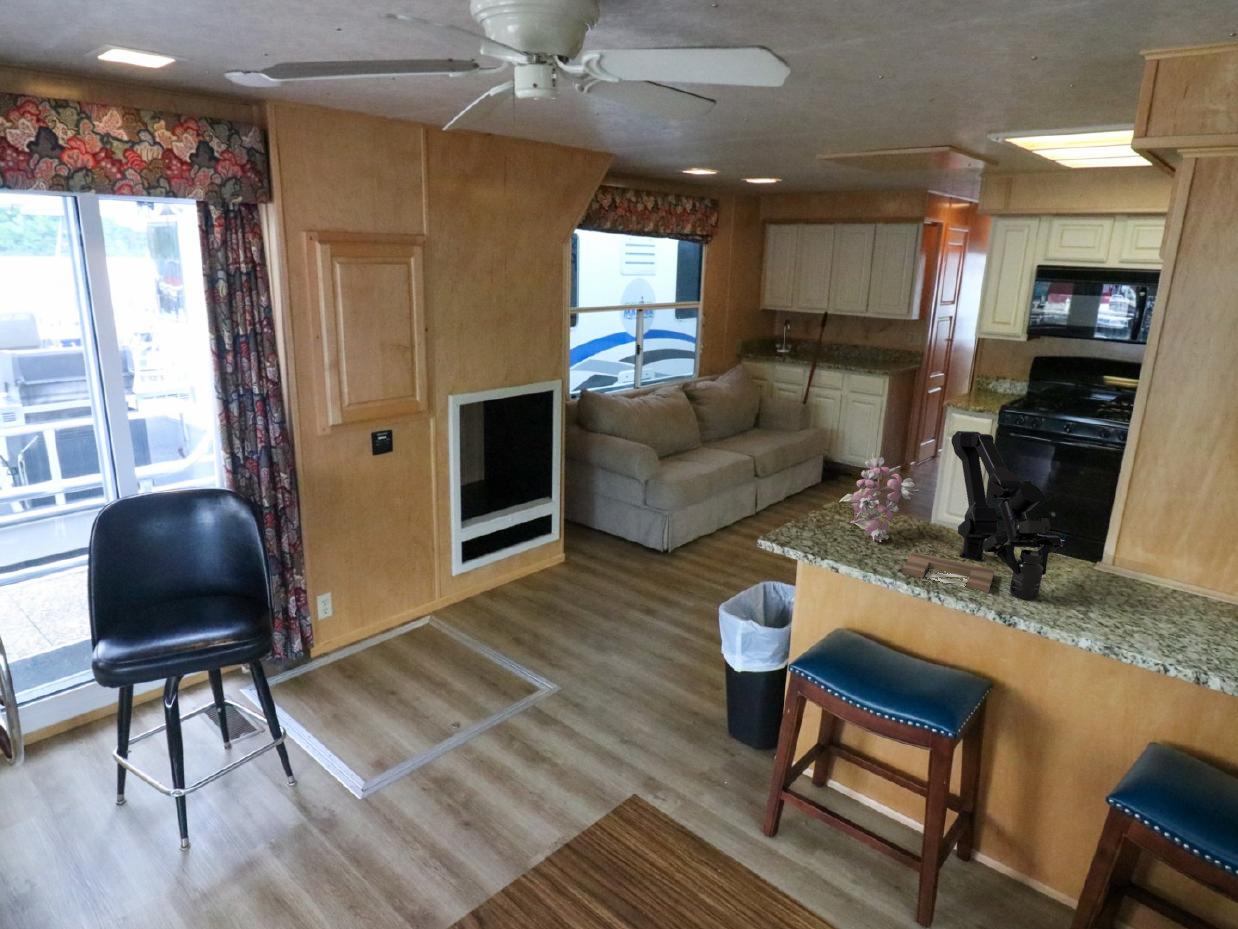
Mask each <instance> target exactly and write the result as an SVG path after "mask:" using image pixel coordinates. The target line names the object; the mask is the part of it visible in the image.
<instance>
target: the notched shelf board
mask: <svg viewBox="0 0 1238 929" xmlns="http://www.w3.org/2000/svg"><path fill="white" fill-rule="evenodd" d="M928 568H930V569H928ZM933 569H934V570H942V571H946V572H950V574H948V573H947V574H943V573H939V572H938V573H937V574H935V573H934V572H932V573H931V572H930V574H929V573H927V572H928V570H933ZM926 571H927V572H926ZM995 571H996V570H995V568H992V567H986V566H982V565H977V564H971V563H967V562H961V561H957V560H951V559H948V558H943V557H938V556H931V555H929V554H924V553H918V552H914V551H912V552H911V553H910V555H909V557H908V558H907V560H906V562H905V563H904V565H903V567H902V573H901V574H902V575H905V576H909V577H915V578H918V577H920V578H919V579H924V578H925V577H930V579H931V580H930V581H933V580H935V581H934V582H937V581H940V582H939V583H942V582H943V583H944V584H946V583H967V584H965V586H966V587H965V586H964V584H963V585H960V586H963V587H962V588H964V587H965V588H966V589H968V590H972V589H976V590H975V591H977V590H979V591H978V592H981V591H982V593H985V594H986V593H987V594H989V593H990V590H991V586H992V583H993V580H994V576H995ZM925 573H926V574H925ZM951 573H954V574H951ZM924 575H925V576H924ZM961 575H963V576H961ZM923 577H924V578H923ZM931 577H938V580H937V579H935V578H931ZM939 577H969V578H968V580H967V579H965V578H963V581H961V580H960V579H956V580H953V579H950V578H948V579H941V578H939ZM928 579H929V578H927V579H926V580H928ZM960 586H959V587H960Z"/></svg>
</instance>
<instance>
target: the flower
mask: <svg viewBox="0 0 1238 929" xmlns="http://www.w3.org/2000/svg"><path fill="white" fill-rule="evenodd" d="M871 455H872V458H867V460H866V461H865V466H866V468H869V469H868V470H862V472H861V473H860V475H861V477H863V479H859V480H857V481H856V486H857V488H860V489H859V490H857V491H855V492H853V494H852V493H847V494H845V496H843V497H842V498H841V499H840V500H839V502H838V503H841V502H851V506H852V508H853V510H854V511H853V513H854V514H853V520H851V521H850V524H855V525H856V526H857V527H858V528H860V529H861V530H865V532H866V533H868V535H870V536H871V537H872V540H873V542H875V540H876V542H878V543H882V540H884V538H885V539H886V540H888V539H889V537H890V536H889V535H888V534H887V533H888V530H889V529H888V528H889V522H888V521H887V520H889V521H894V520H895V515H894V513H897V512H899V510H901V508H900V507H899V506H898V504H897V503H898V502H900V498H901V496H902V497H903V499H906V500H911V499H912V498H911V497H910V496H909V495H911V496H915V493H914V491H919V490H920V489H919V488H917V489H916V488H915V486H916V484H915V483H914V482H913V481H914V479H912V478H910V477H909V478H905V479H902V477H901V475H900V474H898V473H893V474H891V477H892V478H891V479H889V480H887V482H886V483H887V484H886V485H887V486H884V487H881V488H880V480H881V479H880V473H881V474H882V476H884V477H887V476H888V475H889V476H890V468H889V467H888V466H883V464H884V463H885V458H884V457H883V456H881V457H880V456H876V457H874V452H872V454H871ZM876 479H877V481H875V480H876ZM865 486H866V487H865ZM864 487H865V488H864ZM886 489H891V490H893V492H891V493H888V494H887V495H886V498H887V500H886V501H885V504H880V501H879V500H880V499H879V498H878V497H877V496H880V495H882V492H881V491H883V490H886ZM875 506H877V507H876V508H875ZM870 512H871V513H870ZM881 513H882V514H881ZM883 516H884V518H885V519H884V520H883V521H882V523H881V524H880V520H879V519H880V518H881V517H883ZM859 517H861V518H859Z"/></svg>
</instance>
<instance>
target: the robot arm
mask: <svg viewBox="0 0 1238 929" xmlns="http://www.w3.org/2000/svg"><path fill="white" fill-rule="evenodd" d="M951 445H952V448H953V451H954V454H955V455H956V456H957V457H958V458H959V459H960V461H961V464H962V470H963V472H962V473H963V477H964V485H965V490H966V497H967V503H968V508H967V510H966V511H965V514H964V517H963V518H964V521H961V522H962V523H960V524H959V525H957V534H958V535H960V537H962V538H963V544H962V549H961V550H960V552H959V555H958V557H960V558H965V559H970V560H975V561H979V562H984V560H985V556H986V554H985V553H993V555H994V556H997V557H998V558H999V559H1000V560H1001V561H1002V562H1004V563H1005V564H1006V565H1007V567H1008V568H1009V569H1010V570H1011V571H1012V573H1013V572H1014V573H1015V574H1019V568H1018V565H1017V558H1016V556H1015V548H1034V551H1036V552H1039V553H1041V554H1042V557H1041V562H1039V563H1040V564H1041V565H1042V566H1043V575H1042V576H1045V575H1046V574H1047V567H1048V558H1049V554H1051V553H1054V552H1055V551H1056V550H1058V549H1059V548H1061V547H1062V546H1063V542H1062V538H1061V537H1060V536H1058V535H1044V536H1042V537H1041V538H1040V539H1037V540H1036V539H1035V538H1037V537H1038V536H1039V535H1038V534H1045V532H1046V531H1050V530H1051V523H1050V521H1049V518H1047V517H1046V518H1043V517H1042V518H1041V517H1040V518H1038V519H1037V520H1032V519H1031V518H1027V515H1026V512H1029V511H1031V510H1032V509H1033V508H1034V507H1035V506H1037V504H1039V503H1040V502H1041V501H1042V500H1043V498H1044V494H1043V491H1042V490H1041V489H1040V488H1039V487H1038V486H1036V485H1035V484H1033V482H1032V481H1031V480H1024V479H1023V480H1022V481H1021V480H1020V479H1019V478H1018V476H1017V475H1016V473H1014V472H1012V471H1010V470H1009V469H1008V468H1007V466H1006V464H1005V462H1004V461H1003V458H1002V457H1001V454H1000V453H999V450H998V448H997V446H996V444H995V442H994V436H993V435H991V434H989V433H981V432H979V431H969V430H967V431H966V430H958V431H957V430H956V432H955V433H954V434H953V435H952V436H951ZM981 462H982V464H983V467H984V469H985V472H986V473H987V475H988V481H987V487H988V491H989V493H990V495H991V497H992V498H993V499H1000V500H1001V499H1003V501H1000V502H998V504H997V506H996V508H995V507H990V505H989V504H988V502H987V497H986V492H985V490H986V489H985V485H984V477H983V471H982V466H981ZM997 513H1000V515H1001V519H1002V522H1003V526H1002V527H1001V529H1002V531H1003V532H1006V534H997V531H998V528H999V522H998V521H999V520H998V517H997Z"/></svg>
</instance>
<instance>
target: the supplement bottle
mask: <svg viewBox="0 0 1238 929" xmlns="http://www.w3.org/2000/svg"><path fill="white" fill-rule="evenodd" d="M1041 557H1042V554H1041V553H1039V552H1036V551H1035V550H1031V549H1022V550H1021V551H1020V555H1019V559H1016V561H1017V565H1018V568H1019V574H1015V573H1014V572H1013V571H1012V574H1011V580H1010V585H1009V593H1010V595H1012V596H1013V597H1016V598H1018V599H1021V600H1026V601H1033V600H1034V601H1035V600H1036V599H1038V597H1039V593H1040V588H1041V584H1042V579H1043V576H1044V575H1043V566H1042V565H1041V564H1040V563H1039V562H1041Z"/></svg>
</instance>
